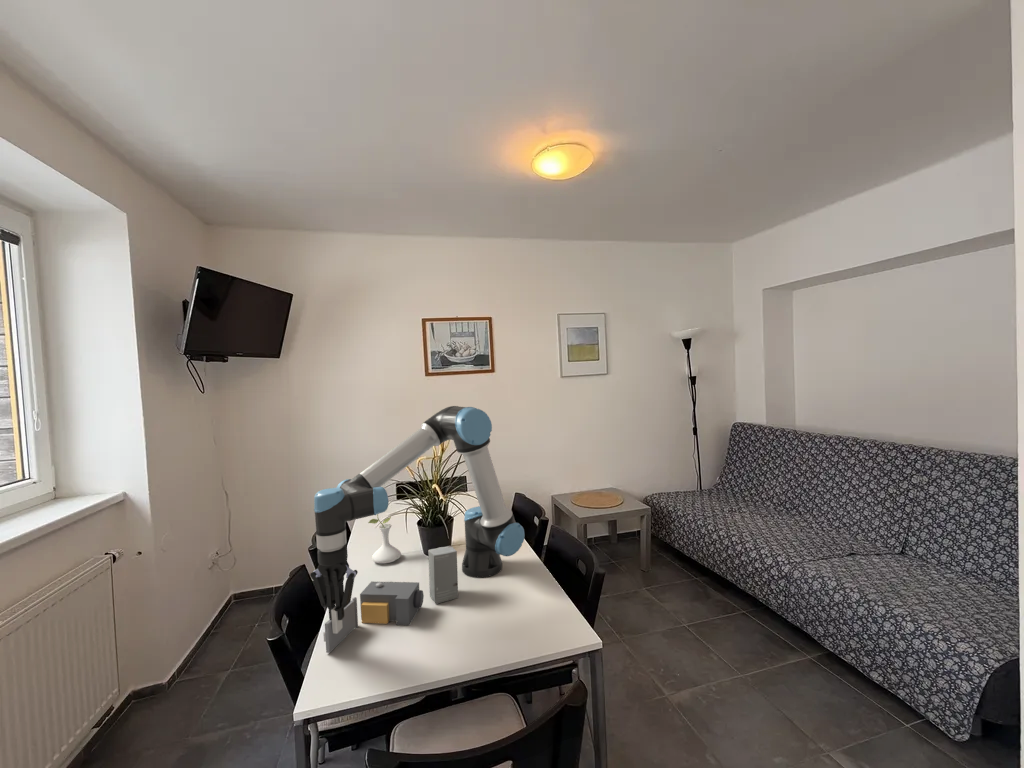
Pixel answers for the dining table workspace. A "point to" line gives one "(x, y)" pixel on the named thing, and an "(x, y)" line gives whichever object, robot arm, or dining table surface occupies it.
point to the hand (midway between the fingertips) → (337, 630)
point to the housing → (389, 602)
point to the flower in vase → (385, 545)
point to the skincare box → (443, 574)
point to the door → (348, 626)
